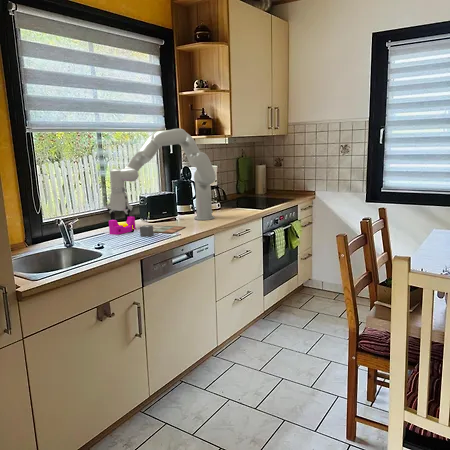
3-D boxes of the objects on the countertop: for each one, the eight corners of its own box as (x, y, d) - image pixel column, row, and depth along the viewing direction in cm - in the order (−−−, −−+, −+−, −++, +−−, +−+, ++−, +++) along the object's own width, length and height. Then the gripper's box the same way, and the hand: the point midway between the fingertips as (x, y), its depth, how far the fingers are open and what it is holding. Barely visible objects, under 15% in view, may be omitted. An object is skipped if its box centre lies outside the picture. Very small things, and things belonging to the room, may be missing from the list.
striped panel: (157, 226, 246) (156, 225, 246) (185, 227, 240) (185, 226, 240) (141, 232, 231) (141, 231, 231) (172, 234, 224) (171, 232, 224)
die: (145, 234, 227) (144, 224, 226) (153, 234, 225) (152, 225, 224) (140, 236, 222) (139, 226, 221) (148, 236, 220) (148, 227, 219)
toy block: (116, 235, 227) (115, 221, 226) (109, 233, 231) (108, 220, 230) (138, 230, 239) (137, 217, 237) (131, 229, 243) (130, 216, 241)
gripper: (134, 190, 241) (136, 219, 244) (109, 189, 247) (111, 218, 250) (127, 191, 234) (129, 222, 238) (101, 191, 240) (103, 220, 243)
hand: (120, 220), depth 244 cm, fingers open, 9 cm apart
